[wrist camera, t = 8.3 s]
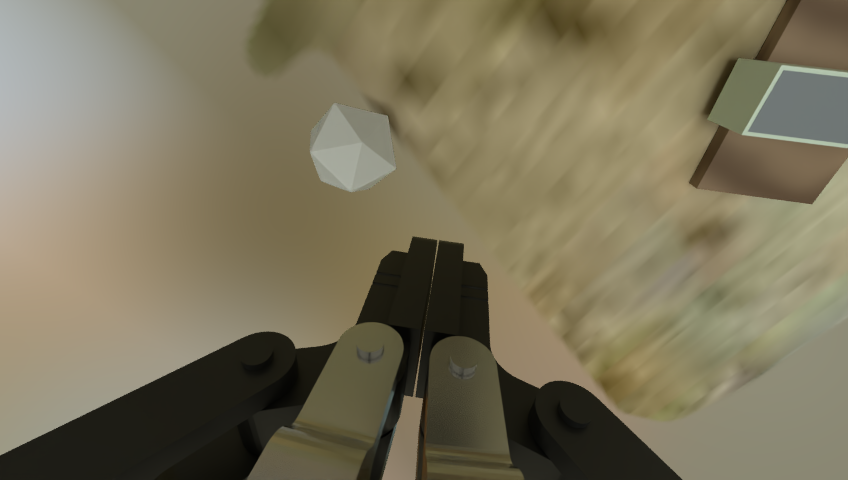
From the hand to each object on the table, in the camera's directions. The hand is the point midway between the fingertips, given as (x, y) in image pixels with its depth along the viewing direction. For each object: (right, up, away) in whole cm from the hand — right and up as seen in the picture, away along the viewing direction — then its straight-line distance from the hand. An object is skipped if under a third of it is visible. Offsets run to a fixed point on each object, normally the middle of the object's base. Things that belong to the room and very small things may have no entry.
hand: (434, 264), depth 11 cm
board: (+33, +13, +21) cm, 42 cm away
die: (-7, +12, +28) cm, 32 cm away
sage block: (+25, +12, +18) cm, 33 cm away
